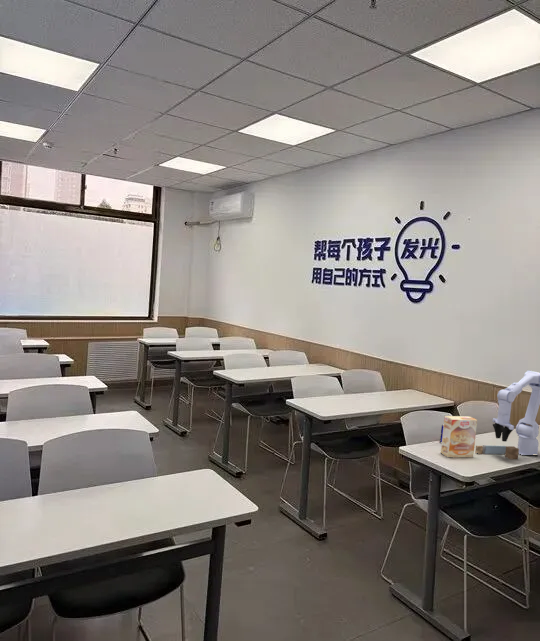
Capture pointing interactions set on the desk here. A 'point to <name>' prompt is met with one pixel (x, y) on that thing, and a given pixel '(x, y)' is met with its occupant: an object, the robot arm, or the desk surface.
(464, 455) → the coffeecake box
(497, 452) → the slate-blue door
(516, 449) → the walnut block
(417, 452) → the desk surface
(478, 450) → the oak door frame
